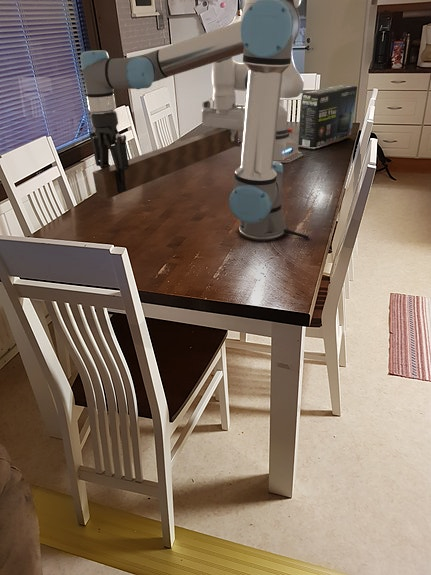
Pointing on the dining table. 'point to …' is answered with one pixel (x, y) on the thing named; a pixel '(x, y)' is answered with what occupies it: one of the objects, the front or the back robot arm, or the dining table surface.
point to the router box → (326, 115)
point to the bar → (164, 161)
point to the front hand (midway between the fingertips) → (116, 190)
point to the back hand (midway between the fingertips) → (225, 140)
